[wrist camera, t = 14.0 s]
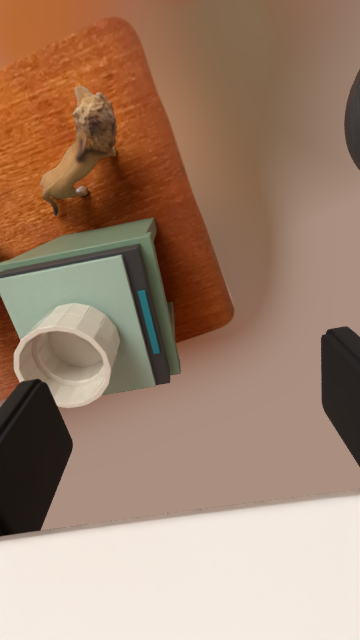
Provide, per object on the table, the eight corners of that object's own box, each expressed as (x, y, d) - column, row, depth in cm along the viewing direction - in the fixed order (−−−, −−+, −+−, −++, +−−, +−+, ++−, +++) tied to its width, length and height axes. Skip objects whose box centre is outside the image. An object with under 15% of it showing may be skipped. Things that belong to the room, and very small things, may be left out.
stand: (158, 216, 42) (149, 234, 26) (177, 311, 47) (180, 373, 32) (57, 236, 43) (-9, 266, 27) (88, 328, 48) (48, 396, 32)
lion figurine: (96, 94, 36) (74, 67, 28) (135, 125, 38) (124, 108, 29) (39, 203, 41) (5, 207, 33) (75, 227, 42) (52, 238, 34)
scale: (139, 243, 26) (136, 248, 24) (170, 371, 32) (170, 386, 29) (4, 269, 27) (-12, 278, 25) (55, 391, 32) (46, 407, 30)
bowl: (108, 294, 25) (94, 318, 21) (129, 364, 28) (120, 399, 24) (28, 309, 26) (-3, 336, 21) (56, 377, 28) (34, 414, 24)
